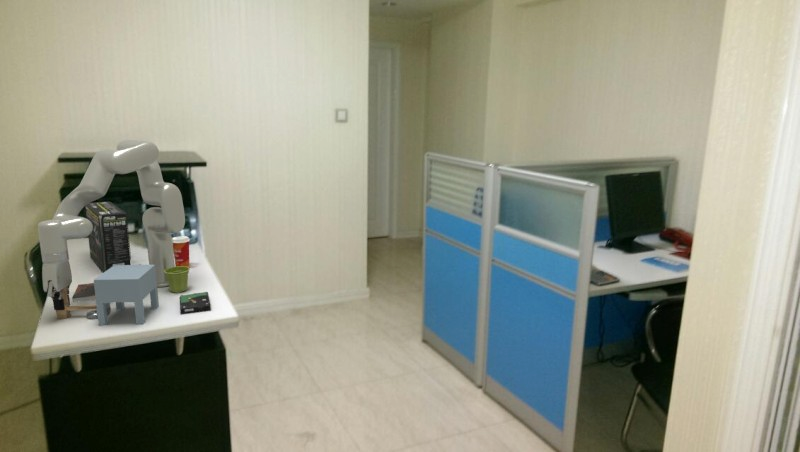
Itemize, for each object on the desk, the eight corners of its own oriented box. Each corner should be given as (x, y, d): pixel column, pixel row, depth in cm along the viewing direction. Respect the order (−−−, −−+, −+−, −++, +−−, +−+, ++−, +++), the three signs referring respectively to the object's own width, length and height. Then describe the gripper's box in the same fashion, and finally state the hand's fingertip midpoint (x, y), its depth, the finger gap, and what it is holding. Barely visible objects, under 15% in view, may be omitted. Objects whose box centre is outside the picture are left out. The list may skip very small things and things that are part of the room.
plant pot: (164, 295, 202) (162, 274, 200) (167, 287, 211) (166, 266, 209) (189, 293, 205) (188, 272, 203) (192, 285, 213) (190, 265, 211)
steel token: (85, 320, 178) (85, 316, 178) (88, 314, 182) (87, 310, 182) (102, 318, 180) (102, 314, 180) (104, 313, 184) (103, 309, 184)
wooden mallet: (65, 312, 184) (60, 285, 182) (110, 310, 185) (106, 283, 183) (53, 321, 176) (48, 293, 174) (100, 319, 178) (96, 291, 175)
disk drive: (211, 312, 188) (208, 297, 202) (211, 304, 188) (207, 291, 201) (180, 316, 184) (179, 301, 197) (180, 308, 184) (178, 294, 197)
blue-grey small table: (116, 307, 189) (112, 265, 186) (158, 306, 191) (155, 264, 187) (96, 325, 174) (91, 279, 170) (142, 324, 176) (138, 279, 172)
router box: (133, 272, 229) (127, 212, 223) (105, 277, 222) (98, 215, 216) (115, 253, 256) (109, 200, 250) (89, 257, 249) (83, 202, 243)
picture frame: (72, 304, 194) (137, 296, 202) (71, 297, 193) (136, 290, 202) (79, 289, 208) (139, 283, 217) (78, 284, 208) (138, 277, 216)
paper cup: (170, 267, 236) (168, 237, 233) (187, 264, 241) (185, 234, 238) (177, 271, 231) (175, 241, 228) (194, 268, 236) (192, 238, 233)
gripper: (56, 250, 183) (62, 299, 187) (29, 264, 167) (37, 317, 171) (79, 250, 184) (85, 299, 188) (54, 263, 168) (61, 317, 172)
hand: (62, 307), depth 179 cm, fingers closed on wooden mallet, 3 cm apart
